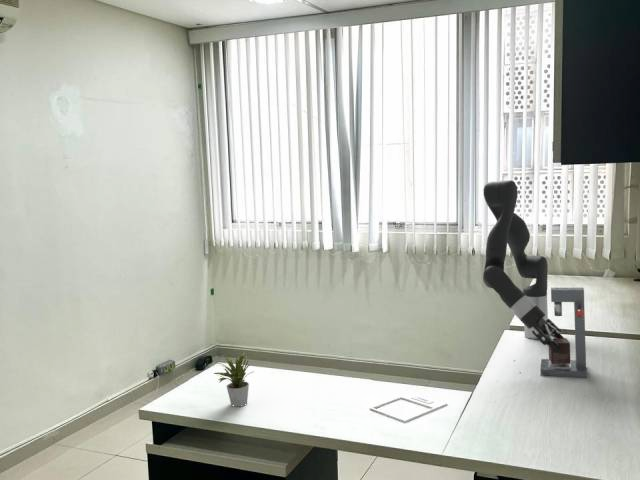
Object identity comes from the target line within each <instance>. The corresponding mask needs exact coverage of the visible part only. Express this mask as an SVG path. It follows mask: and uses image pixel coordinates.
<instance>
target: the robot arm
mask: <svg viewBox="0 0 640 480" xmlns="http://www.w3.org/2000/svg"><path fill="white" fill-rule="evenodd" d="M483 197H484V200H485V201H484V202H485V203H486V205H487V206H488V208H489V210H490V211H491V213H492V214H493V216H494V217H495V219H496V223H495V224H494V225H493V226H492V228H491V229H490V232H489V233H488V236H487V239H486V248H485V263H484V264H485V265H484V271H483V272H482V274H483V275H482V279H483V280H482V281H483V283H484V285H485V286H487V288H489V289H493V291H495V292H496V293H497V295H498V296H499V297H500V298H499V299H501V300H502V302H503V303H504V304H505V305H506V306H507V307H508V309H510V310H511V313H513V314H514V316H515V317H516V318H518V319H519V321H520V322H521V323H522V324H524V325H523V327H524V328H523V329H524V337H525V338H527V339H531V340H532V339H534V340H539V341H540V343H541V344H543V345H544V346H548V345H549V346H550V347H551V348H552V349H553V350H554V351H555V352H556V353H559V352H560V351H561V350H562V348H561V347H560V346H559V345H558V344H557V343H556V342H555V341H553V339H552V338H565V337H564V336H563V335H562V333H561V332H562V330H561V329H560V328H559V327H558V326H557V325H556V324H555V323H554V322H553V321H552V320H551V319H550V318H549V314H548V313H549V312H548V310H549V309H548V306H549V305H548V271H549V270H548V269H549V268H548V267H549V266H548V261H547V258H546V257H545V256H544V255H542V256H541V255H527V254H526V253H525V250H526V248H527V246H528V245H529V243H530V237H531V233H530V231H529V228H528V226H527V224H526V222H525V220H524V219H523V218H522V217H520V216H519V215H518V214H516V213H515V209H516V205H517V200H518V187H517V185H516V182H515V181H513V180H509V179H508V180H507V179H506V180H498V181H497V180H496V181H489V182H487V183H485V184H484V187H483ZM507 247H509V250H510V253H511V254H512V256H513V260H514V263H515V265H516V266H515V267H516V269H517V272H518V274H519V275H520V277H522V278H524V279H535V283H534V284H532V285H528V286H525V287H524V288H523V289H522V290H521V289H520V288H519V287H518V286H516V284H515V283H514V282H513V281H512V279H511V277H509V276H508V275H507V273H506V272H505V262H506V261H505V260H506V256H507V251H508V250H507V249H508V248H507Z"/></svg>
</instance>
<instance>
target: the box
mask: <svg viewBox="0 0 640 480" xmlns="http://www.w3.org/2000/svg"><path fill="white" fill-rule="evenodd" d="M552 339H553V341H555V342H556V343H557V344H558V345H559V346H560V347H561V348H562V350H561V351H560V352H559V353H556V352H555V351H554V350H553V349H552V348H551V347H550V346H549V345H547V346H548V347H547V348H548V359H549V360H550V361H551V363H552V364H570V360H571V343H570V341H569V339H567V338H566V337H564V338H554V337H552Z"/></svg>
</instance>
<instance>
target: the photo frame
mask: <svg viewBox="0 0 640 480" xmlns="http://www.w3.org/2000/svg"><path fill="white" fill-rule="evenodd" d="M400 399H402V400H404V401H407V402H410V403H414V404H416V405H420V406H422V407H425V408H428V409H427V410H425V411H423V412H419V413H417V414H415V415H413V416H410V417H408V418H402V417H399V416H396V415H394V414H390V413H387V412H385V411H383V410H380V409H377V408H380V407H382V406H385V405H388V404H390V403H394V402H395V401H399V400H400ZM446 406H448V402H445V401H441V400H438V399H435V398H432V397H428V396H425V395H422V394H418V393H415V392H412V391H410V392H408V393H406V394H403V395H400V396H397V397H395V398H392V399H390V400H387V401H384V402H382V403H379V404H375V405H373V406H371V407H369V410H370V411H371V412H375V413H379V414H381V415H383V416H387V417H390V418H391V419H394V420H397V421H400V422H402V423H407V422H410V421H413V420H415V419H417V418H420V417H422V416H424V415H427V414H429V413H432V412H434V411H436V410H438V409H441V408H443V407H446Z"/></svg>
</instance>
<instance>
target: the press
mask: <svg viewBox="0 0 640 480" xmlns="http://www.w3.org/2000/svg"><path fill="white" fill-rule="evenodd" d="M550 295H551V296H550V299H551V303H553V308H554V310H553V311H554V312H553V313H554V316H555V317H563V303H573V306H574V308H573V310H574V340H575V341H574V342H575V346H574V348H575V359H574V360H571V359H570V364H552V363H551V361H550V360H549V358H541V360H540V361H541V362H540V369H539V370H540V376H544V377H563V378H565V377H567V378H582V379H583V378H584V379H587V377H588V372H587V355H586V352H587V347H586V318H585V315H586V314H585V313H586V312H585V289H584V287H550Z"/></svg>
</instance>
